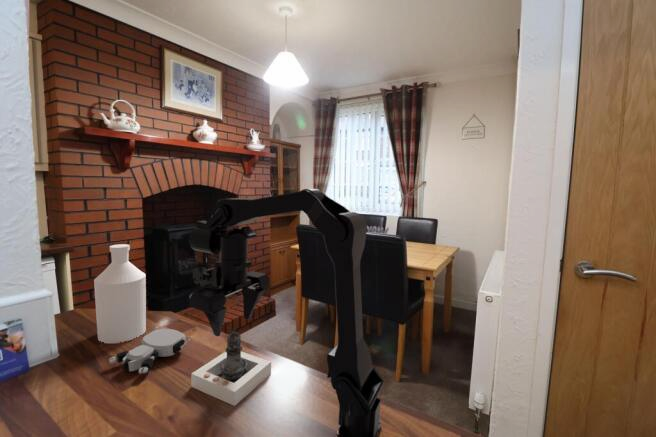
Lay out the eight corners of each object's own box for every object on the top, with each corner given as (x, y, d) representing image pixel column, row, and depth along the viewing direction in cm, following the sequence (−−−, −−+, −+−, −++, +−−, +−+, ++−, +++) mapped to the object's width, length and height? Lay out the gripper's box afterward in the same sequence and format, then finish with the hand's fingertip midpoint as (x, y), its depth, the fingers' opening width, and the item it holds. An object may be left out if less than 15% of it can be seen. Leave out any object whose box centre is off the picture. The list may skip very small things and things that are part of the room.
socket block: (270, 373, 73) (271, 360, 73) (234, 405, 62) (234, 390, 62) (231, 359, 78) (231, 347, 78) (191, 386, 67) (191, 372, 67)
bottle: (91, 332, 88) (87, 244, 85) (139, 320, 97) (136, 240, 94) (102, 348, 80) (98, 252, 77) (153, 333, 89) (151, 246, 86)
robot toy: (144, 386, 69) (195, 348, 82) (143, 367, 68) (194, 332, 82) (105, 372, 73) (160, 338, 87) (103, 354, 72) (159, 323, 86)
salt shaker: (213, 385, 68) (213, 332, 67) (230, 370, 74) (230, 321, 73) (237, 391, 67) (237, 337, 65) (252, 375, 72) (253, 326, 71)
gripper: (234, 245, 79) (234, 304, 81) (168, 260, 62) (169, 335, 64) (271, 251, 74) (269, 314, 76) (210, 269, 57) (210, 350, 59)
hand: (232, 326), depth 69 cm, fingers open, 9 cm apart
